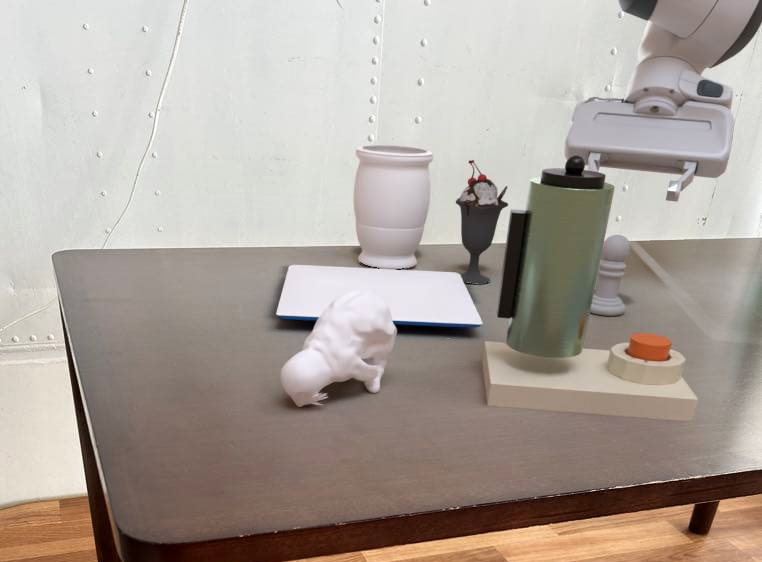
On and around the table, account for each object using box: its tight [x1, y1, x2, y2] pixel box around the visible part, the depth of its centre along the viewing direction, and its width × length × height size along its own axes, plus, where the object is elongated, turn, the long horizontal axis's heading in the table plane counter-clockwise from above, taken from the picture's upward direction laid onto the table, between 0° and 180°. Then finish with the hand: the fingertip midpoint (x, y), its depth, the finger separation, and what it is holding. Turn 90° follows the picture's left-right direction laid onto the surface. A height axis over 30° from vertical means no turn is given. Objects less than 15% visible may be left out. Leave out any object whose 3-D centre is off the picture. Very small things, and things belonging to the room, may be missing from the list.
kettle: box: [496, 155, 616, 358], centre depth 73 cm, size 8×10×16 cm
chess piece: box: [590, 234, 631, 317], centre depth 99 cm, size 5×5×9 cm
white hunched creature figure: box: [280, 290, 398, 408], centre depth 72 cm, size 6×8×12 cm
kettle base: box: [481, 340, 699, 423], centre depth 76 cm, size 18×12×4 cm, turn 85°
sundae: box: [455, 159, 509, 283], centre depth 108 cm, size 7×7×15 cm
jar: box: [353, 144, 435, 270], centre depth 114 cm, size 11×10×15 cm
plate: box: [275, 264, 484, 328], centre depth 98 cm, size 22×22×2 cm
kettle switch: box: [627, 332, 673, 362], centre depth 75 cm, size 4×4×2 cm
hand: (633, 193), depth 103 cm, fingers open, 8 cm apart
